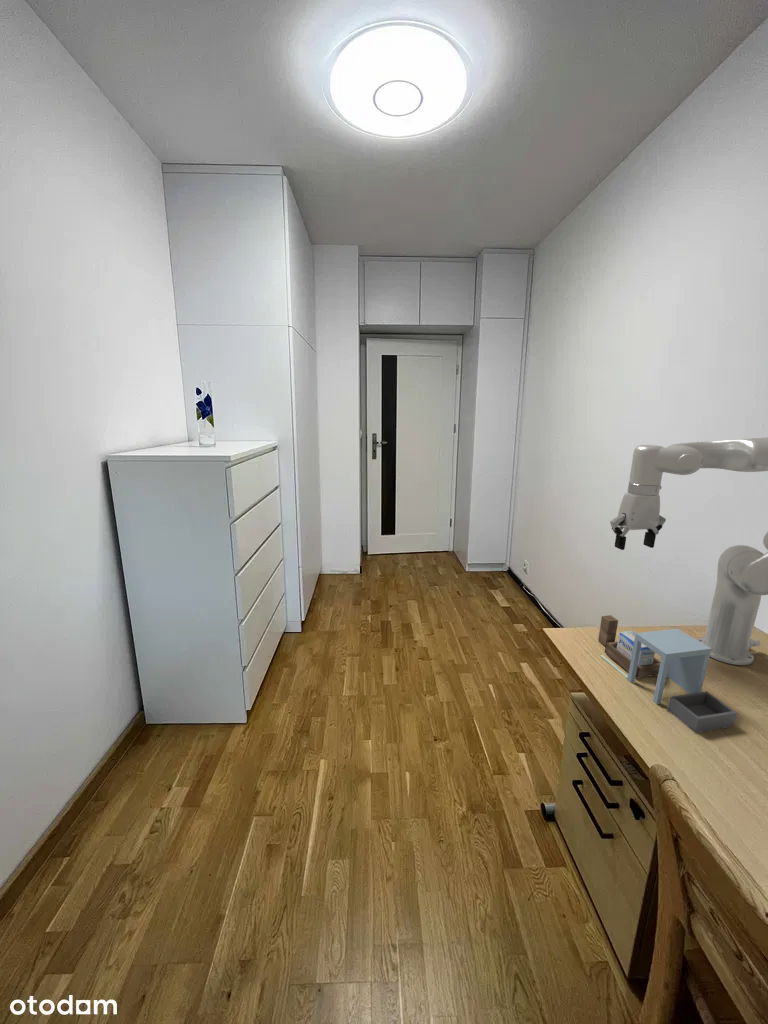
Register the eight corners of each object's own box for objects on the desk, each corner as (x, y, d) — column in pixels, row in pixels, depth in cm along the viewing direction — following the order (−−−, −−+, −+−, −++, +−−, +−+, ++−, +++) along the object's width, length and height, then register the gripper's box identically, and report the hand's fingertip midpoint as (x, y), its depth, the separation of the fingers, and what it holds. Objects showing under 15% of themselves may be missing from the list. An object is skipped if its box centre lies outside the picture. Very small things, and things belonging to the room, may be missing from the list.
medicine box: (614, 659, 112) (618, 631, 110) (627, 657, 113) (632, 629, 111) (636, 677, 105) (641, 647, 103) (651, 675, 106) (656, 646, 104)
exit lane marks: (636, 651, 116) (636, 650, 116) (666, 673, 107) (666, 672, 106) (599, 655, 114) (599, 654, 114) (626, 678, 104) (626, 677, 104)
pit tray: (703, 704, 95) (706, 691, 95) (733, 726, 89) (737, 712, 88) (667, 709, 94) (670, 696, 93) (695, 732, 87) (698, 719, 86)
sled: (614, 638, 122) (618, 614, 120) (662, 674, 105) (667, 647, 103) (590, 641, 120) (594, 616, 118) (635, 677, 104) (640, 650, 102)
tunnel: (668, 674, 106) (677, 628, 103) (699, 697, 98) (711, 648, 94) (627, 679, 104) (635, 633, 101) (656, 704, 95) (666, 654, 92)
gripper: (658, 486, 119) (649, 541, 123) (606, 488, 116) (598, 545, 120) (681, 491, 112) (670, 549, 116) (626, 493, 108) (617, 553, 113)
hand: (633, 547), depth 118 cm, fingers open, 9 cm apart
